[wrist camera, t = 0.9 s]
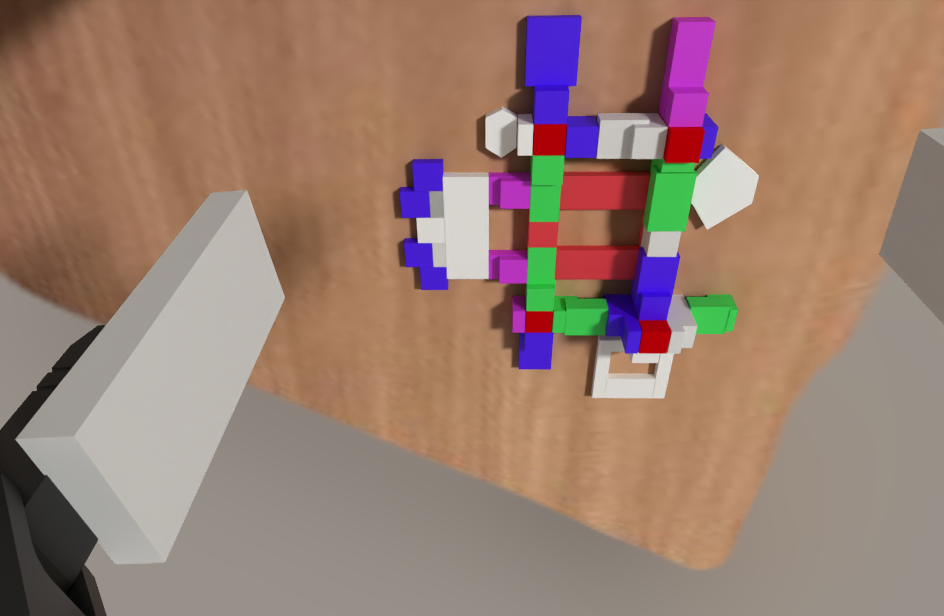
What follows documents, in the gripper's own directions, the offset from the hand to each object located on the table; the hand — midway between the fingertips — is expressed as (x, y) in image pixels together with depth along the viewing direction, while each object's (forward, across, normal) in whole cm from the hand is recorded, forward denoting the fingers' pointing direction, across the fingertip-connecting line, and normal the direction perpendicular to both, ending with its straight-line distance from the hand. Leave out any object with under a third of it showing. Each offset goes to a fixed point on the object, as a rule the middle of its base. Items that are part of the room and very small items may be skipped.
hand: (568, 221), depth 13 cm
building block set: (+22, +2, -14) cm, 26 cm away
